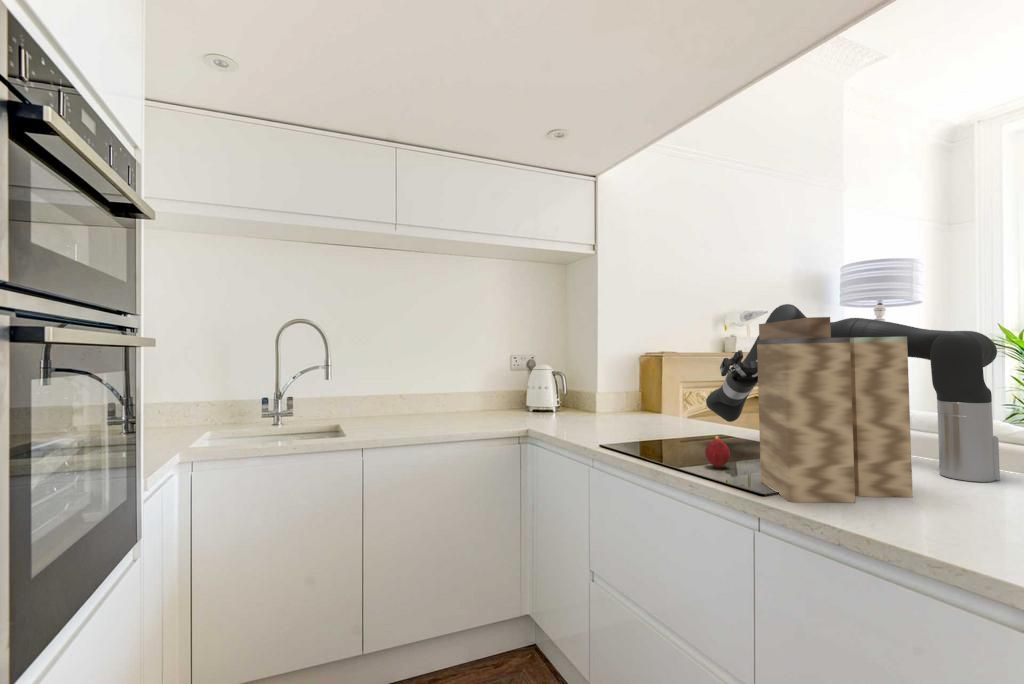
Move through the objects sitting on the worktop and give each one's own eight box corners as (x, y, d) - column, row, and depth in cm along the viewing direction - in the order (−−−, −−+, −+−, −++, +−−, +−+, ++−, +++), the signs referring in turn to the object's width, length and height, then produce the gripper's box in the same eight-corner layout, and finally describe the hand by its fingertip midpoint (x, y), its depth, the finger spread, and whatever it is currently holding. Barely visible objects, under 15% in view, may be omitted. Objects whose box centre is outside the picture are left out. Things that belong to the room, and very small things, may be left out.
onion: (732, 471, 121) (732, 438, 121) (708, 470, 122) (707, 438, 122) (727, 465, 127) (726, 434, 127) (703, 464, 128) (703, 434, 128)
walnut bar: (776, 340, 119) (776, 323, 119) (830, 337, 95) (830, 317, 95) (759, 340, 119) (758, 324, 119) (809, 338, 95) (808, 317, 95)
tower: (868, 478, 112) (864, 338, 112) (912, 497, 98) (907, 336, 98) (822, 478, 113) (817, 339, 113) (859, 496, 99) (853, 337, 99)
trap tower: (817, 483, 109) (813, 339, 110) (855, 502, 95) (849, 337, 96) (761, 482, 110) (756, 340, 111) (790, 501, 96) (785, 338, 97)
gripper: (711, 370, 141) (726, 340, 127) (763, 369, 140) (784, 339, 126) (716, 393, 137) (732, 366, 124) (769, 393, 136) (792, 365, 122)
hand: (758, 352), depth 125 cm, fingers open, 8 cm apart
